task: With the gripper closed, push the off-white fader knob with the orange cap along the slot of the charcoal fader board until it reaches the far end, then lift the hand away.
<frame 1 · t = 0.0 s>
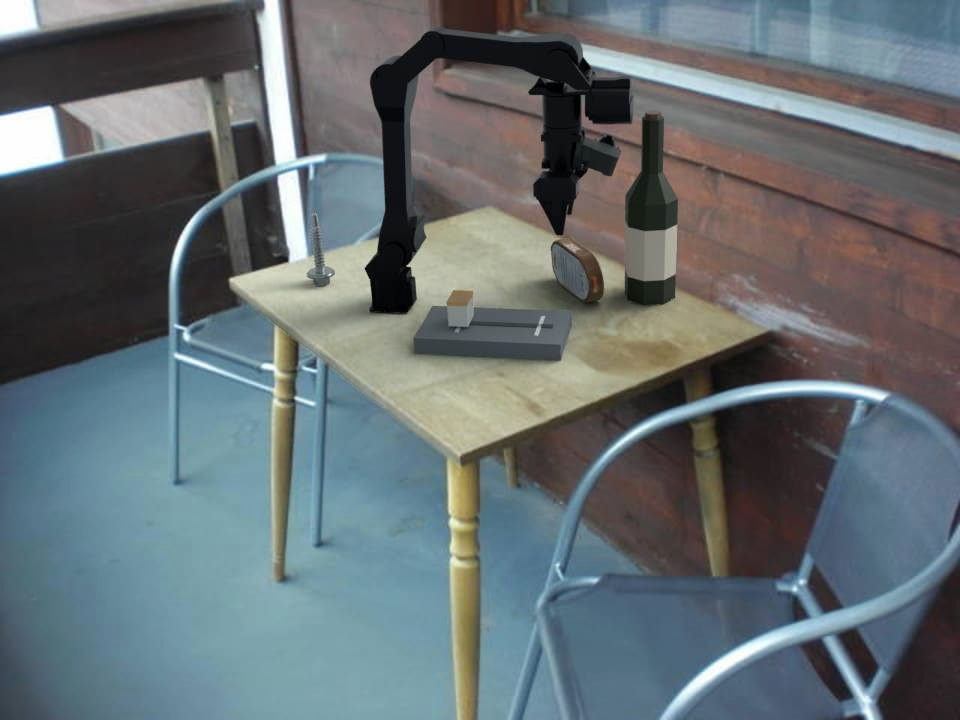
hand: (564, 224, 175), 15 cm above the table, fingers open, 9 cm apart
screw: (322, 284, 198), on the table
tin: (576, 294, 189), on the table
fader board: (494, 339, 174), on the table
wine bottle: (649, 296, 186), on the table
fader: (460, 308, 173), point 5 cm above the table, slide at 0.0 cm
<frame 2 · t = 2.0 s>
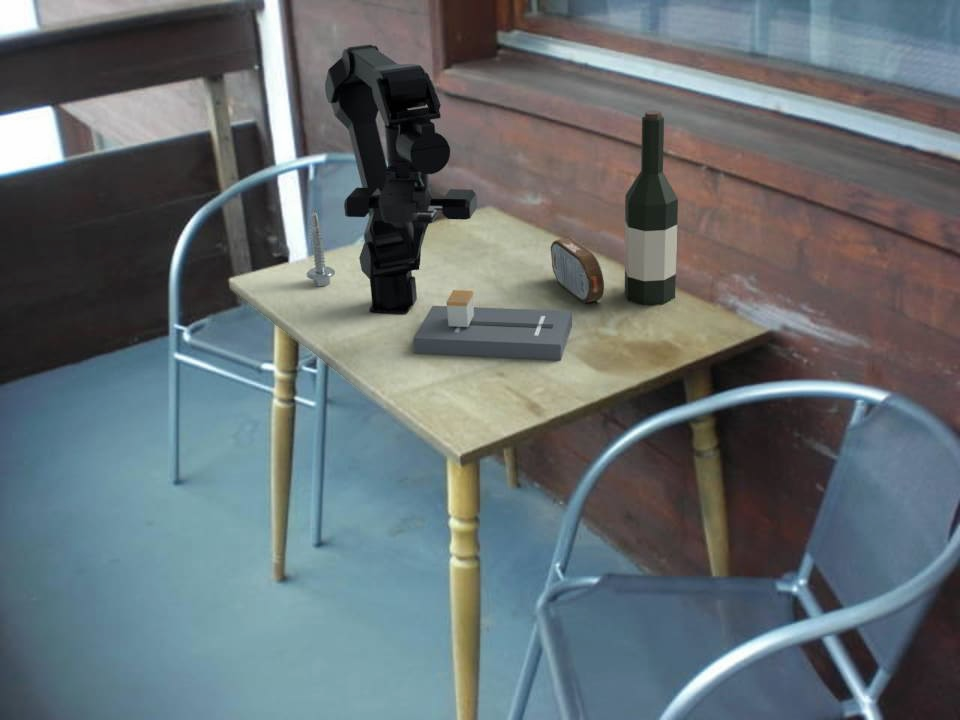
hand: (415, 258, 171), 13 cm above the table, fingers closed
nothing on the table moved.
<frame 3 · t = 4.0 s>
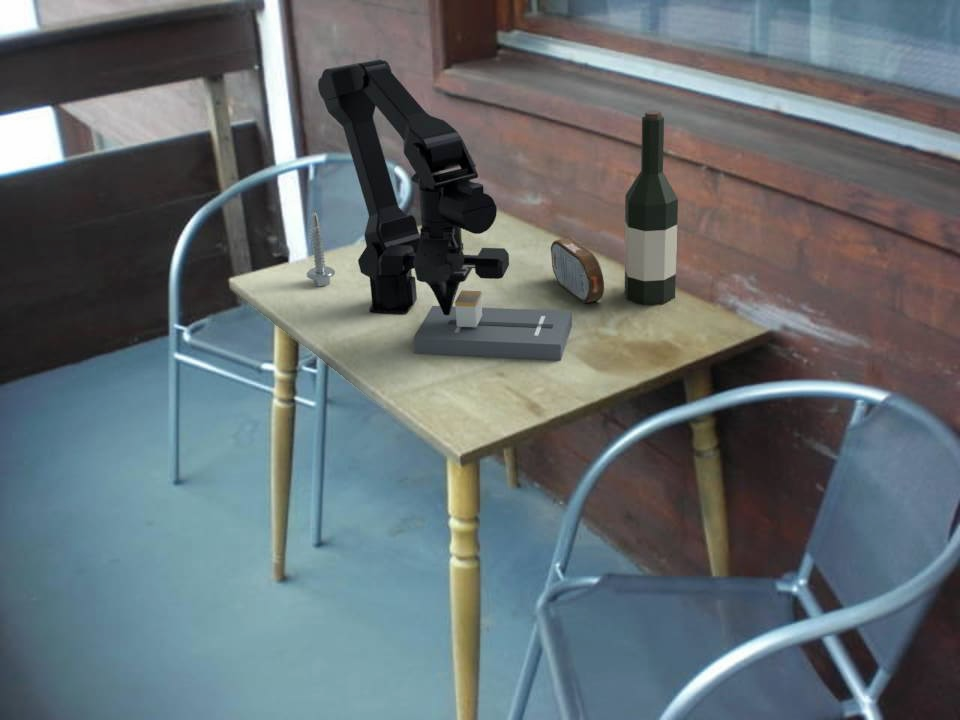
hand: (447, 314, 174), 4 cm above the table, fingers closed
fader: (469, 308, 173), point 5 cm above the table, slide at 1.3 cm, touching gripper
everything else where it was.
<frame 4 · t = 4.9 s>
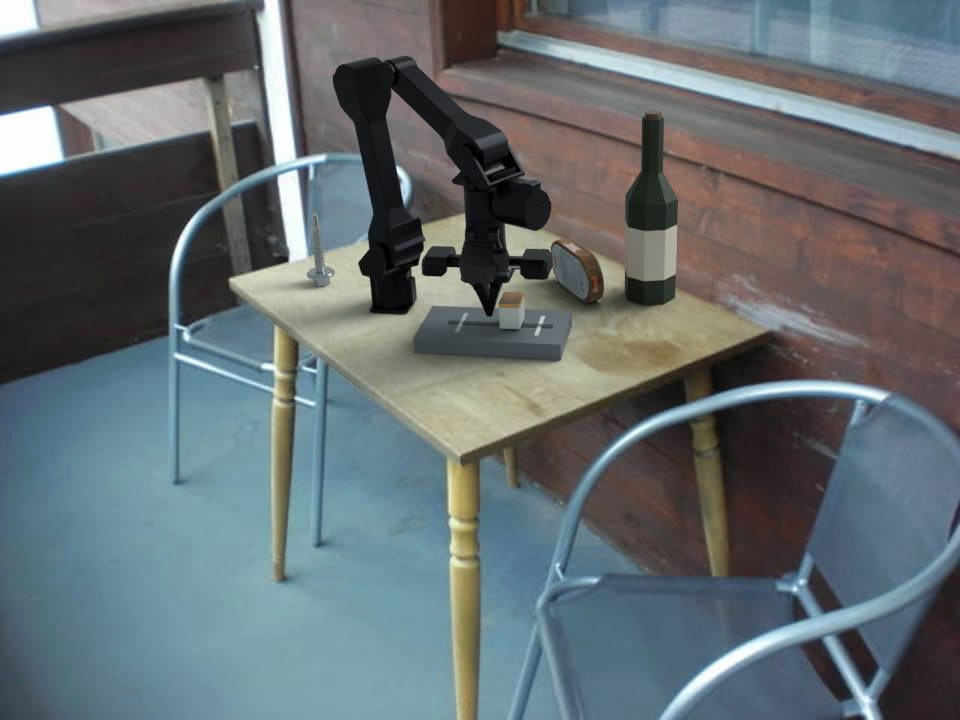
hand: (489, 315, 172), 4 cm above the table, fingers closed
fader: (511, 310, 171), point 5 cm above the table, slide at 7.9 cm, touching gripper
everything else where it was.
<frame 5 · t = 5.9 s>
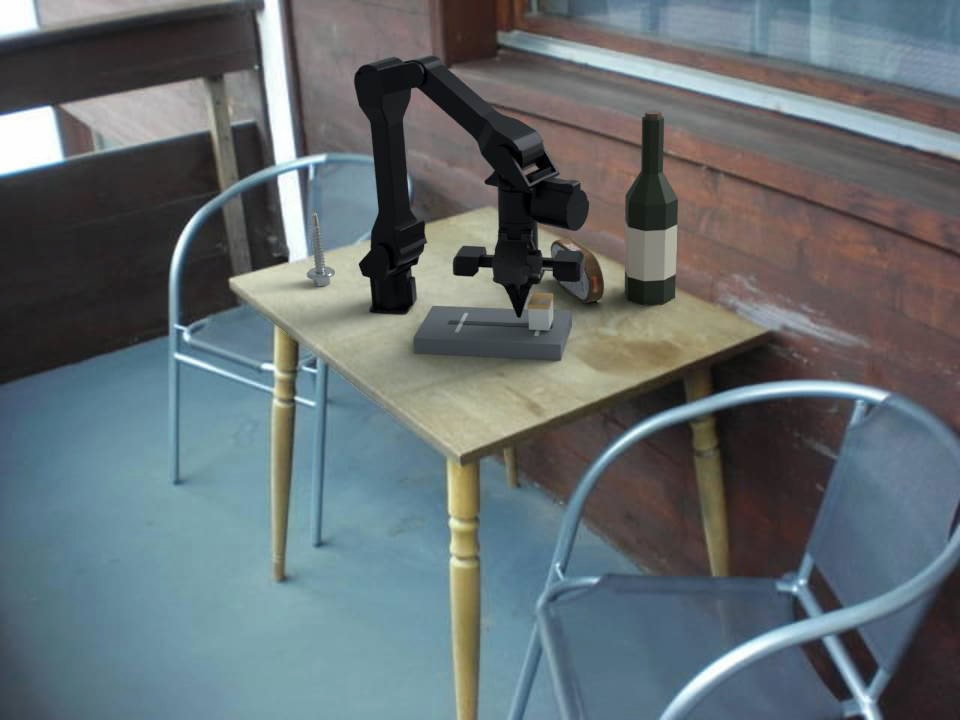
hand: (519, 316, 171), 4 cm above the table, fingers closed
fader: (540, 311, 171), point 5 cm above the table, slide at 12.2 cm, touching gripper
everything else where it was.
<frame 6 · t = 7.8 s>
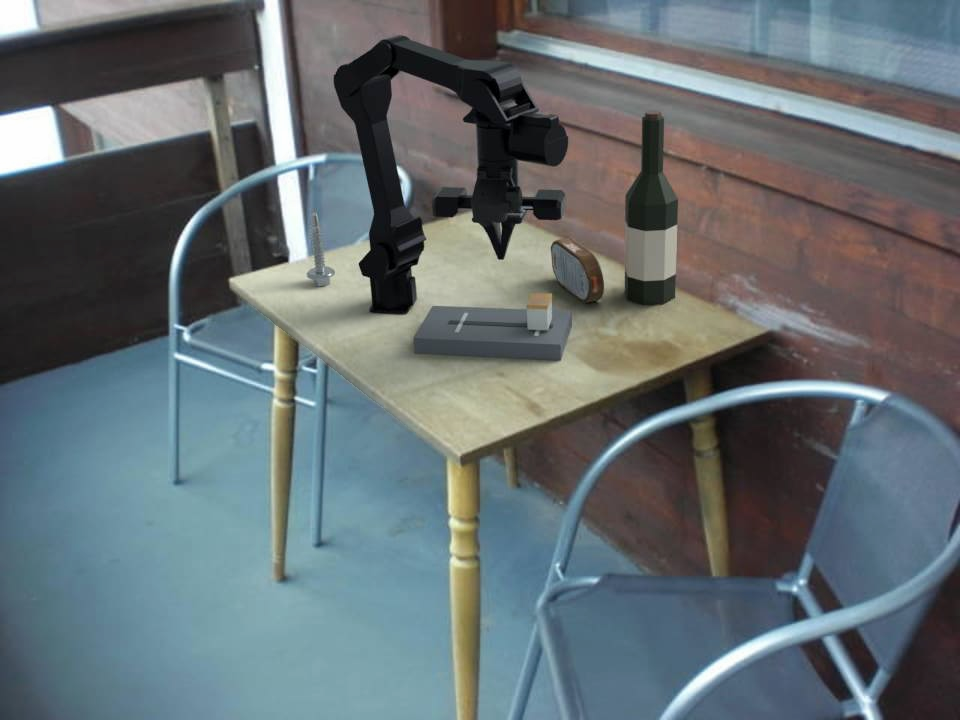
hand: (501, 258, 169), 13 cm above the table, fingers closed
fader: (539, 311, 171), point 5 cm above the table, slide at 12.1 cm
everything else where it was.
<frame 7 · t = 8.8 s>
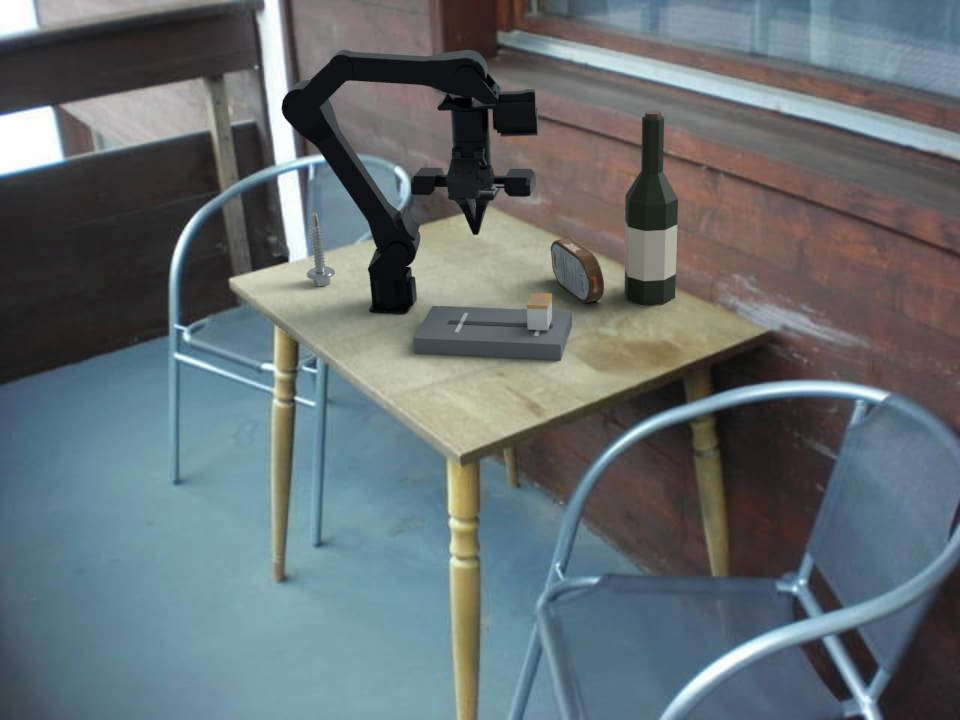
hand: (476, 234, 181), 12 cm above the table, fingers closed
nothing on the table moved.
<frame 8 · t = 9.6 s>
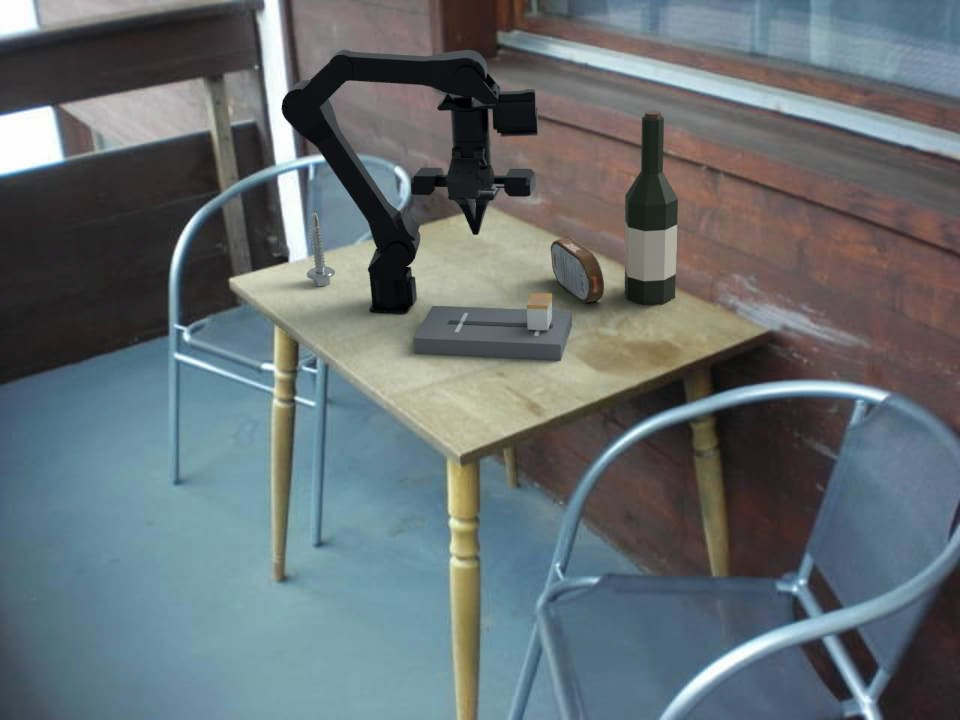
hand: (476, 234, 181), 12 cm above the table, fingers closed
nothing on the table moved.
at the end: fader slide at 12.1 cm; tin moved 0.3 cm from its start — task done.
